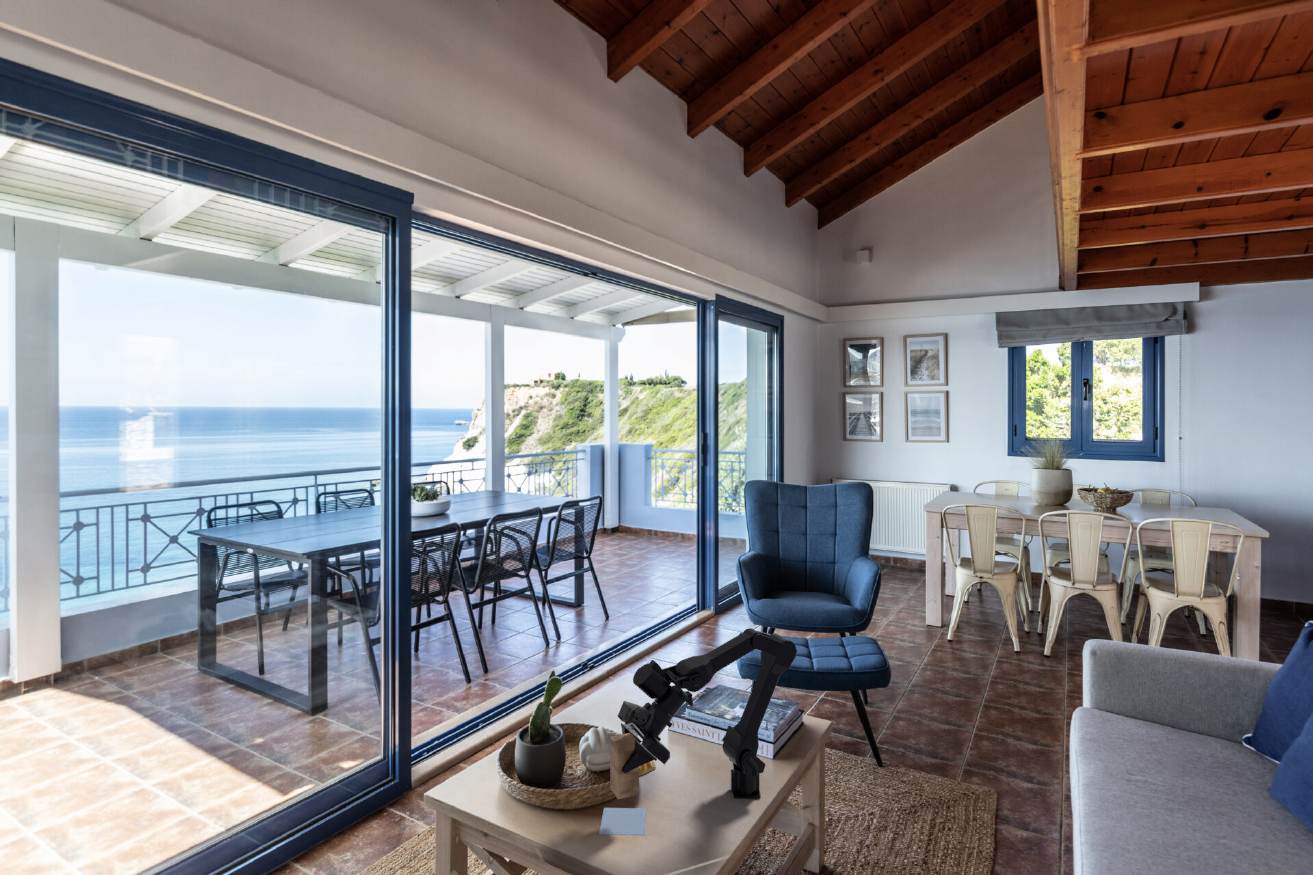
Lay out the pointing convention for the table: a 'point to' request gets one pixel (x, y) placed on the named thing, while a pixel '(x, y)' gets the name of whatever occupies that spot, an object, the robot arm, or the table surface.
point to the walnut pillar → (619, 755)
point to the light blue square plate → (623, 821)
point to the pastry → (647, 768)
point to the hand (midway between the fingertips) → (618, 766)
